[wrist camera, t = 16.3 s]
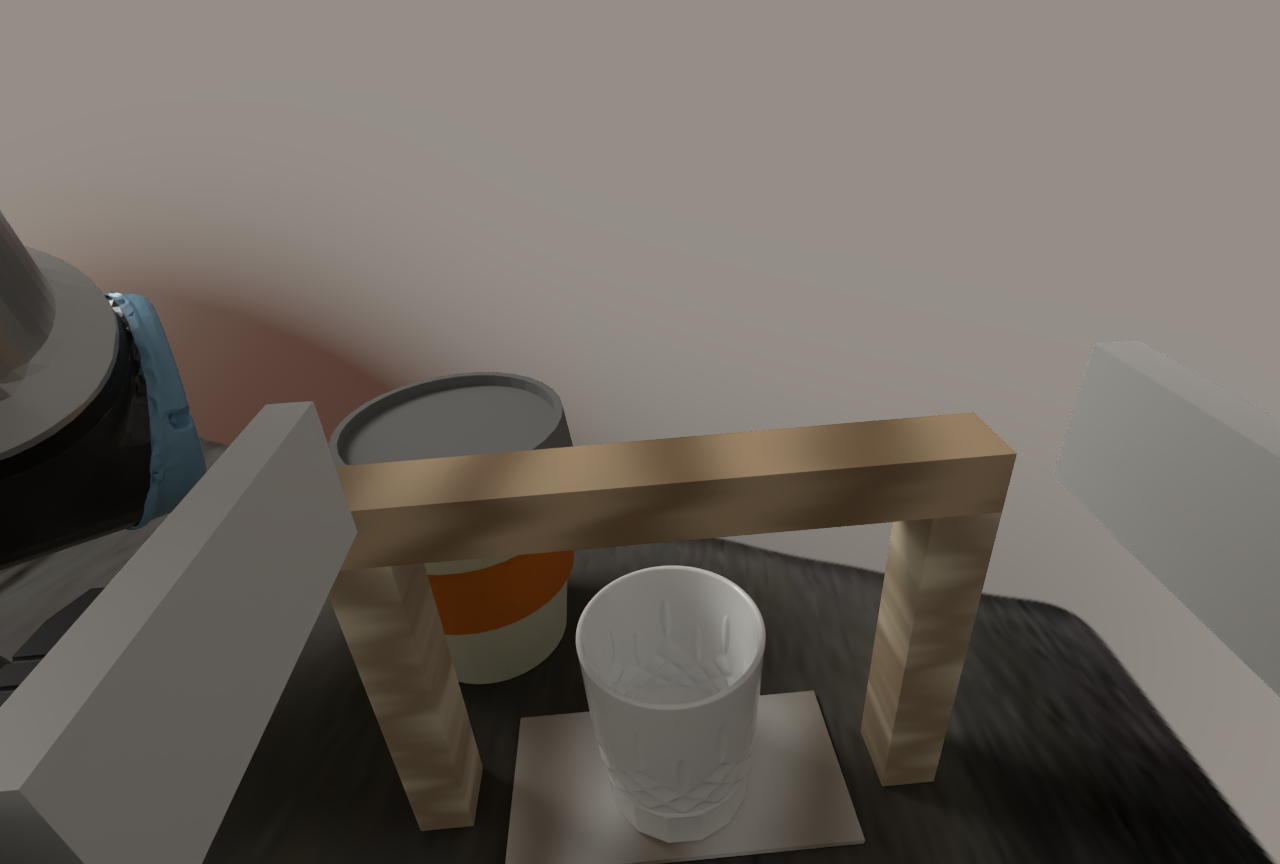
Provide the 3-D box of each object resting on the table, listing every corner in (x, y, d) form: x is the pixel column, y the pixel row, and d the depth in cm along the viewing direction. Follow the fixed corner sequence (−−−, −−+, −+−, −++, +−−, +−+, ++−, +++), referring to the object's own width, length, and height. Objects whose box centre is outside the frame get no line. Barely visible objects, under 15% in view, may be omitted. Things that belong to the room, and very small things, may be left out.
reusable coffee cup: (628, 587, 45) (609, 386, 38) (523, 742, 36) (470, 513, 28) (477, 544, 50) (434, 359, 43) (349, 670, 41) (265, 459, 33)
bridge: (408, 888, 30) (265, 565, 20) (443, 728, 37) (348, 434, 27) (958, 834, 30) (1060, 495, 21) (889, 687, 37) (944, 384, 28)
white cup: (583, 730, 36) (560, 588, 31) (722, 690, 37) (722, 548, 32) (620, 883, 29) (598, 734, 24) (788, 826, 31) (800, 675, 26)
